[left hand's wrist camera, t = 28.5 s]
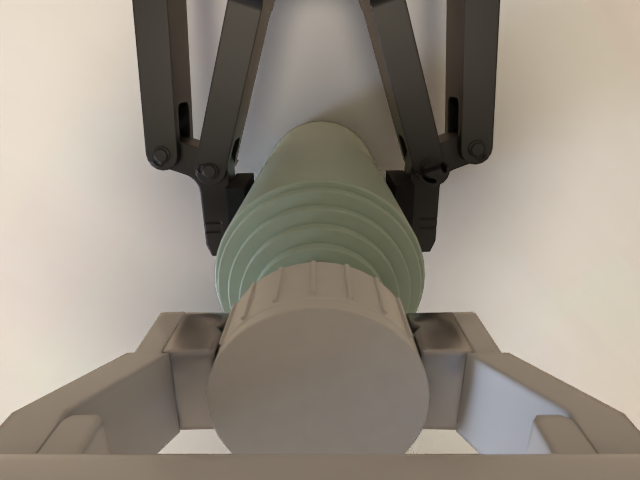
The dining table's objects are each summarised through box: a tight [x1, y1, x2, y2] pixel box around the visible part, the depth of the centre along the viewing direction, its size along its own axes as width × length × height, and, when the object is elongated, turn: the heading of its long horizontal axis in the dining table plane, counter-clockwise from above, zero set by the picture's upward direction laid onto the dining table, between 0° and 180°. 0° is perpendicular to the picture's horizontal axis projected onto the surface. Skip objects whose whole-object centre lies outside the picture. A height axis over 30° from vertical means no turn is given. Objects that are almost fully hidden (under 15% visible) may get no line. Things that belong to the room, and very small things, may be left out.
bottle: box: [215, 121, 425, 314], centre depth 17 cm, size 6×6×18 cm
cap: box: [207, 261, 430, 454], centre depth 9 cm, size 4×4×2 cm
